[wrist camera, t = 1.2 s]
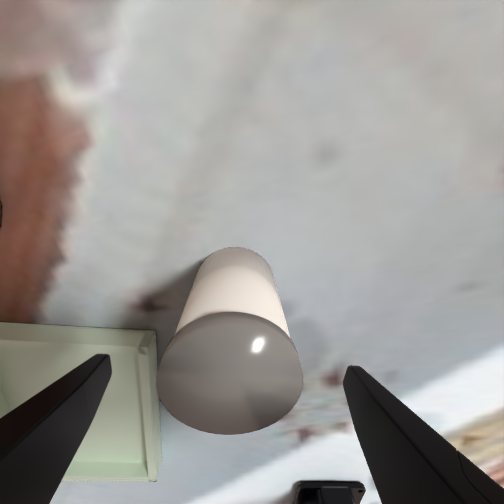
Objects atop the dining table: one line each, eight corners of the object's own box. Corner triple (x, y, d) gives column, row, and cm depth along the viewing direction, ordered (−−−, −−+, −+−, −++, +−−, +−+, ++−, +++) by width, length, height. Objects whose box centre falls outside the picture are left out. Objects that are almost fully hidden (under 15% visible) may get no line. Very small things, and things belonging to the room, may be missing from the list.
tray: (162, 460, 21) (156, 481, 20) (28, 458, 20) (12, 480, 19) (155, 330, 16) (147, 347, 15) (-24, 320, 15) (-50, 337, 14)
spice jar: (269, 318, 16) (290, 436, 9) (194, 313, 16) (158, 432, 9) (280, 249, 14) (316, 332, 8) (195, 241, 14) (152, 322, 7)
